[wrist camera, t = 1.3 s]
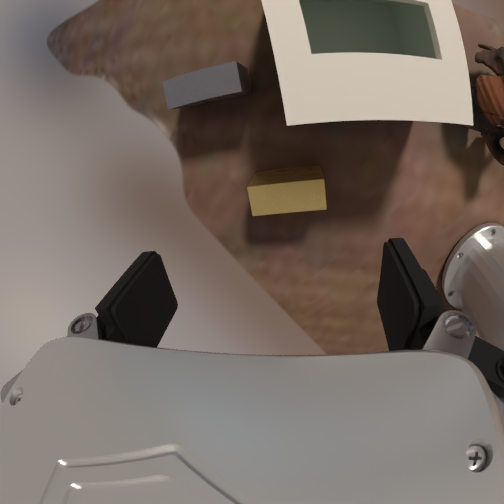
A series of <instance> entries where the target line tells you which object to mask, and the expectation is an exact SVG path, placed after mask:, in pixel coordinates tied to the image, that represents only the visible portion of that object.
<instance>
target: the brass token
mask: <svg viewBox="0 0 504 504" xmlns="http://www.w3.org/2000/svg"><path fill="white" fill-rule="evenodd" d="M247 189H248V194H249V199H250V205H251V210H252V215H253V216H259V215H269V214H279V213H290V212H301V211H313V210H326V209H327V207H326V195H325V183H324V177H323V174H322V171H321V168H320V166H319V165H316V166H305V167H294V168H285V169H276V170H268V171H260V172H256V173H255V175H254V176H253V178H252V180H251V181H250V183H249V185H248V187H247Z"/></svg>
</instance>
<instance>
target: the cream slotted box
mask: <svg viewBox="0 0 504 504" xmlns="http://www.w3.org/2000/svg"><path fill="white" fill-rule="evenodd" d="M262 4H263V8H264V12H265V17H266V21H267V25H268V30H269V34H270V39H271V43H272V48H273V53H274V58H275V63H276V68H277V73H278V78H279V83H280V88H281V94H282V99H283V105H284V111H285V117H286V123H287V126H289V125H298V124H309V123H320V122H335V121H356V120H411V121H430V122H444V123H455V124H464V125H472V126H473V109H472V97H471V88H470V80H469V73H468V67H467V61H466V55H465V50H464V46H463V41H462V37H461V33H460V29H459V25H458V21H457V18H456V15H455V11H454V8H453V5H452V2H451V0H262Z"/></svg>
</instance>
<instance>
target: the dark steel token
mask: <svg viewBox="0 0 504 504" xmlns="http://www.w3.org/2000/svg"><path fill="white" fill-rule="evenodd" d="M162 83H163V88H164V93H165V97H166V102H167V107H168V110H169V109H178V108H187V107H193V106H197V105H201V104H205V103H209V102H213V101H218V100H222V99H227V98H232V97H237V96H242V95H248V94H252V89H251V84H250V79H249V74H248V69H247V68H246V67H244V66H243V65H241V64H240V63H238V62H237V61H233V62H229V63H224V64H220V65H216V66H212V67H208V68H204V69H201V70H197V71H194V72H190V73H187V74H183V75H180V76H177V77H174V78H171V79H168V80H165V81H162Z"/></svg>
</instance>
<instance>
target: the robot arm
mask: <svg viewBox="0 0 504 504" xmlns="http://www.w3.org/2000/svg"><path fill="white" fill-rule="evenodd" d="M442 289H443V293H444V295H445V297H446V299H447V301H448V302H449V303H450V304H451V305H452V306H453V307H455V308H457V309H461V310H462V312H461V311H458V310H450V311H447V310H446V308H445V306H444V304H443V302H442V300H441V298H440V296H439V294H438V292H437V290H436V289H435V287H434V285H433V283H432V281H431V279H430V278H429V276H428V274H427V272H426V271H425V270H423V269H422V268H421V267H420V265H419V263H418V262H417V260H416V258H415V256H414V255H413V253H412V251H411V250H410V248H409V247H408V245H407V243H406V242H405V240H404V239H403V238H390V239H389V240H388V242H385V243H384V247H383V257H382V266H381V275H380V283H379V290H378V297H377V303H378V308H379V312H380V315H381V319H382V323H383V327H384V331H385V335H386V339H387V343H388V347H389V351H382V352H365V353H350V354H328V355H245V354H226V353H210V352H197V351H185V350H175V349H165V348H157V346H158V344H159V342H160V340H161V338H162V336H163V335H164V333H165V331H166V329H167V327H168V325H169V323H170V321H171V319H172V317H173V315H174V314H175V312H176V310H177V306H178V304H177V300H176V298H175V295H174V292H173V290H172V287H171V284H170V281H169V279H168V276H167V273H166V270H165V268H164V265H163V262H162V259H161V256H160V255H159V254H157V253H156V252H155V251H150V252H143V253H141V255H140V256H139V257H138V258H137V259H136V260H135V261H134V262H133V264H132V265H131V266H130V267H129V268H128V269H127V271H126V272H125V273H124V274H123V275H122V276H121V277H120V279H119V280H118V281H117V282H116V283H115V284H114V286H113V287H112V288H111V289H110V291H109V292H108V293H107V294H106V295H105V297H104V298H103V299H102V300H101V301H100V303H99V304H98V305H97V307H96V308H95V309H96V311H97V313H98V317H97V318H96V316H95V315H94V314H92V313H86V314H82V315H80V316H78V317H77V318H75V319H74V320H73V321H72V322H71V324H70V325H69V327H68V336H67V337H63V338H59V339H55V340H52V341H50V342H47V343H46V344H44V345H43V346H42V347H41V348H40V349H39V350H38V351H37V353H36V354H35V355H34V356H33V357H32V359H31V360H30V361H29V363H28V364H27V365H26V367H25V368H24V369H23V370H22V371H21V372H20V373H18V374H17V375H16V376H15V377H13V378H12V379H11V380H10V381H9V382H7V383H6V384H5V385H4V387H3V388H2V391H1V400H2V405H1V407H0V504H504V226H502V225H501V224H498V223H486V224H482V225H480V226H478V227H476V228H474V229H473V230H471V231H470V232H469V233H467V234H466V235H465V236H464V237H463V238H462V239H461V240H460V241H459V243H458V244H457V245H456V246H455V248H454V249H453V251H452V252H451V254H450V256H449V258H448V260H447V262H446V264H445V268H444V271H443V276H442ZM476 331H477V332H478V334H479V336H480V338H481V339H480V338H479V337H477V336H476Z"/></svg>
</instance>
